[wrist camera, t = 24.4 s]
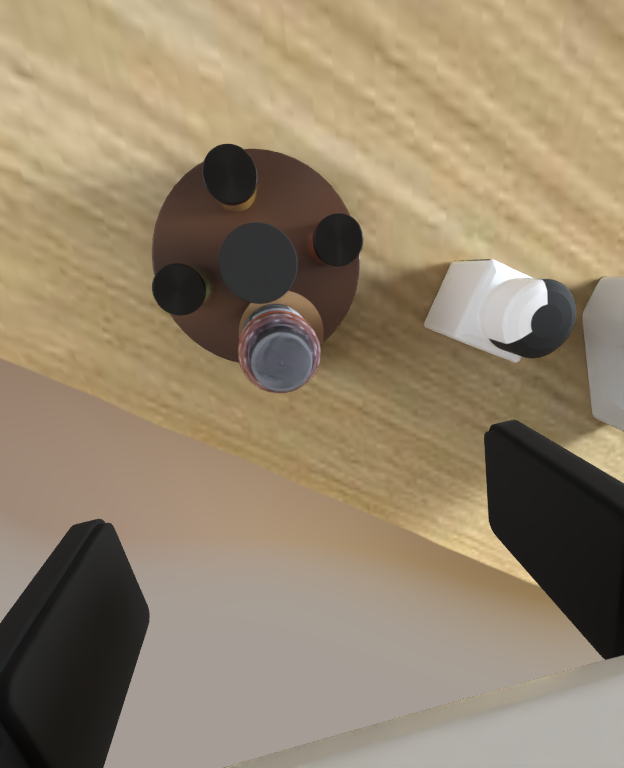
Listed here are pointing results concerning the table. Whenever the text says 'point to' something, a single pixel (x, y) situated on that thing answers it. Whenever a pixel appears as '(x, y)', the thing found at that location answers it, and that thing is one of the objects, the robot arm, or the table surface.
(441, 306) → the medicine bottle
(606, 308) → the white triangular tub
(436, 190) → the table surface
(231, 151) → the spice rack
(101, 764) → the robot arm
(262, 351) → the supplement bottle
